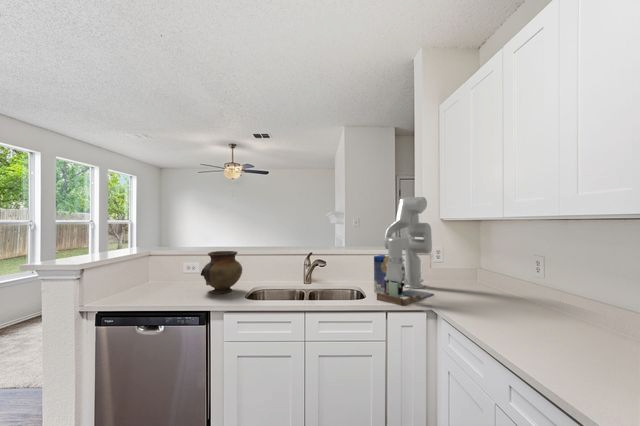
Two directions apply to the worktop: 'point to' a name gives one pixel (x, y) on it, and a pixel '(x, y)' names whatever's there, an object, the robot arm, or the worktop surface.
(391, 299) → the brown wooden frame
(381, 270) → the beverage box
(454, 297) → the worktop surface
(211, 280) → the pot
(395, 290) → the block
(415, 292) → the mat
